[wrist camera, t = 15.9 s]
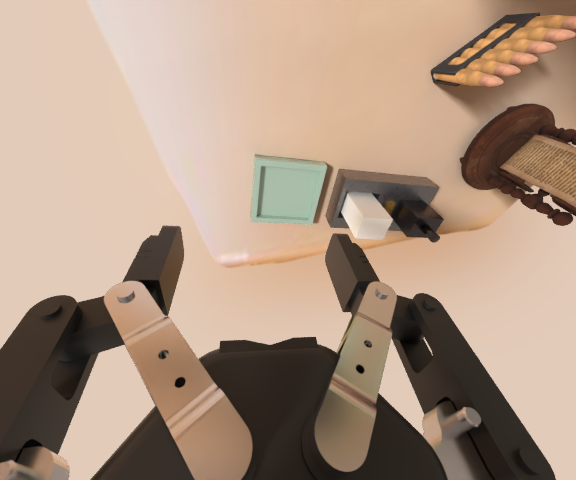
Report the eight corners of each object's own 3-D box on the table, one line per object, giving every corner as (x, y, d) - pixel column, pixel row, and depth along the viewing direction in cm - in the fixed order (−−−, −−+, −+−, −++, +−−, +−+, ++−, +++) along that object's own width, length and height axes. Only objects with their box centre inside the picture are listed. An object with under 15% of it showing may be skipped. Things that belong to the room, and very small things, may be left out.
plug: (343, 187, 45) (363, 217, 37) (368, 189, 46) (393, 219, 38) (337, 206, 48) (355, 238, 40) (361, 207, 49) (383, 239, 41)
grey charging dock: (339, 168, 44) (366, 207, 34) (426, 177, 47) (475, 214, 37) (325, 215, 50) (345, 259, 40) (403, 220, 53) (440, 261, 43)
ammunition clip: (432, 82, 37) (494, 96, 28) (429, 70, 36) (493, 81, 27) (508, 29, 34) (605, 24, 25) (507, 14, 33) (609, 4, 24)
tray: (254, 154, 40) (255, 159, 39) (324, 161, 43) (327, 166, 41) (250, 215, 48) (250, 221, 46) (310, 219, 50) (312, 224, 48)
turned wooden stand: (514, 83, 39) (692, 111, 23) (555, 128, 44) (719, 175, 29) (440, 165, 46) (537, 227, 31) (483, 194, 52) (584, 259, 37)
